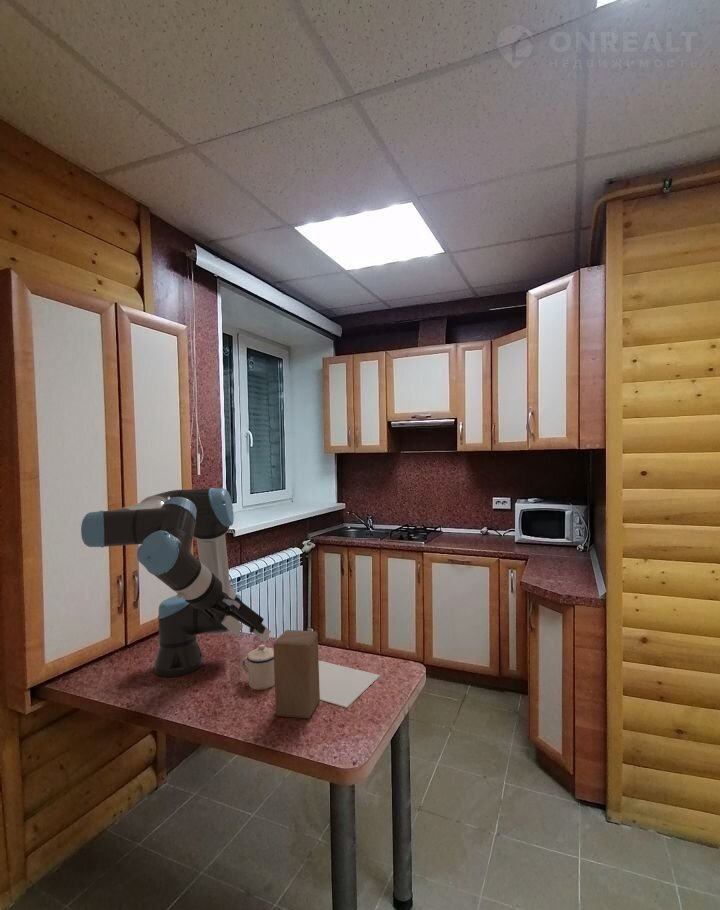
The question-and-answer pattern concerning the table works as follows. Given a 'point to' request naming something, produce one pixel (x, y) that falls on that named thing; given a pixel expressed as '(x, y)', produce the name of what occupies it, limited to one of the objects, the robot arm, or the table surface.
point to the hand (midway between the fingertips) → (253, 633)
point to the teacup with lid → (260, 667)
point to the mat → (342, 683)
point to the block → (296, 673)
